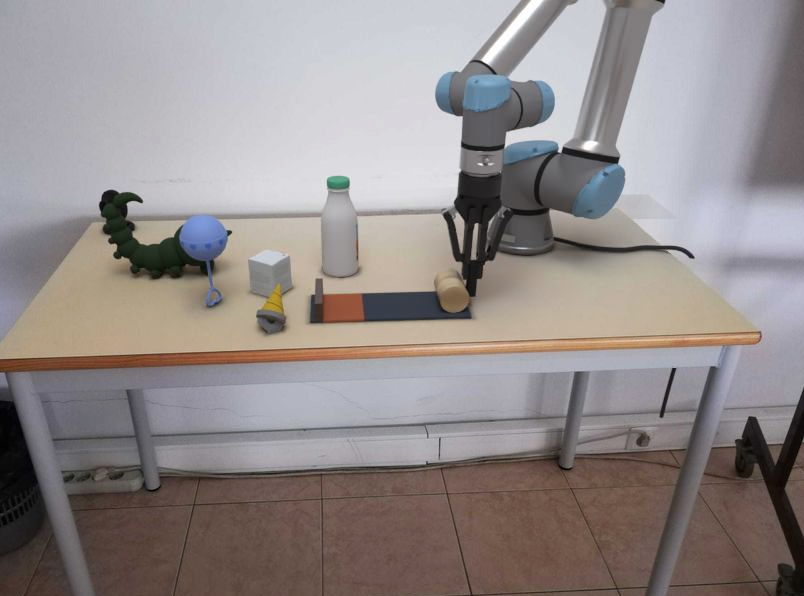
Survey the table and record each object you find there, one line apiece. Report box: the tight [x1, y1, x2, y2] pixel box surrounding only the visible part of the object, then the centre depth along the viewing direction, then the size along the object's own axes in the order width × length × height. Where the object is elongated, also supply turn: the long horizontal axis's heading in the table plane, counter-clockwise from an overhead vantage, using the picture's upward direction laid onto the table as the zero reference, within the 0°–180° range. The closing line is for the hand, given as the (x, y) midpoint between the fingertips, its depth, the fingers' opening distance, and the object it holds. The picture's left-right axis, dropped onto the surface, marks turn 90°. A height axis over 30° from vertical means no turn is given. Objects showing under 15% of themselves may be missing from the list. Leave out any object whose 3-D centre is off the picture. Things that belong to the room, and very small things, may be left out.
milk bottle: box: [320, 175, 360, 278], centre depth 141 cm, size 8×8×20 cm
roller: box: [433, 268, 470, 313], centre depth 130 cm, size 6×8×6 cm
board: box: [309, 277, 473, 324], centre depth 130 cm, size 30×11×4 cm, turn 93°
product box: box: [247, 249, 293, 298], centre depth 136 cm, size 6×6×7 cm
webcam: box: [98, 189, 136, 236], centre depth 165 cm, size 8×8×10 cm
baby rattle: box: [179, 214, 229, 308], centre depth 127 cm, size 9×9×18 cm
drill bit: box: [255, 283, 287, 335], centre depth 123 cm, size 5×5×10 cm
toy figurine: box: [100, 191, 233, 279], centre depth 141 cm, size 9×19×25 cm
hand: (470, 294), depth 130 cm, fingers closed
